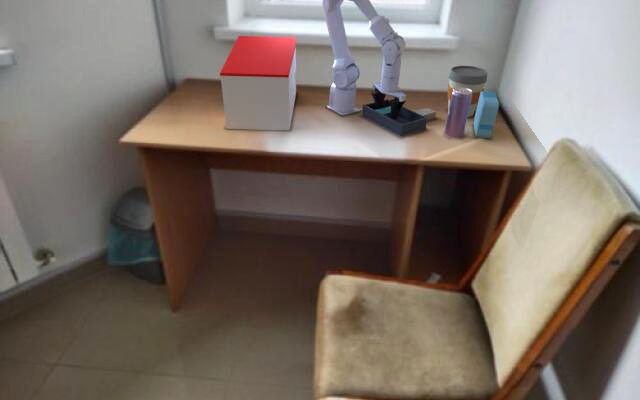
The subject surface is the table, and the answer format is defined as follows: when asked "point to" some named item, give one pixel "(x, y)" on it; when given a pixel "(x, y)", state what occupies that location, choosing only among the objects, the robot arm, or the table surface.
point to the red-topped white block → (260, 83)
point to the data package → (486, 114)
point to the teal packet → (385, 111)
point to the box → (402, 124)
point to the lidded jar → (467, 83)
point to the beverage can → (458, 112)
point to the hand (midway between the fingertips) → (386, 115)
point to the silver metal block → (427, 113)
